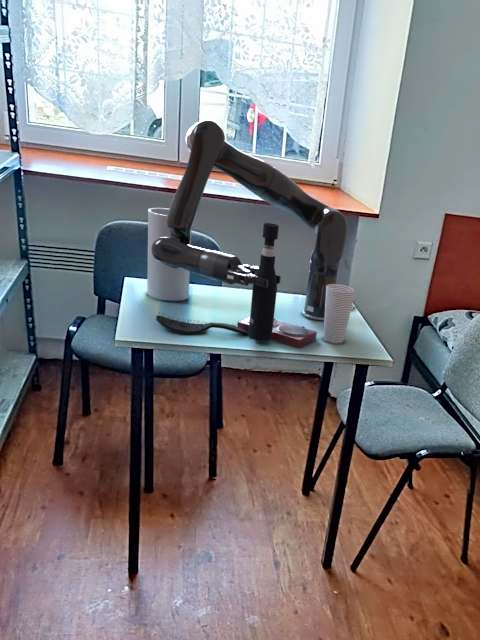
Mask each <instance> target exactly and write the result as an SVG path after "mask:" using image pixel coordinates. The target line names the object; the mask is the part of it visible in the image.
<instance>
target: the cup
mask: <svg viewBox="0 0 480 640" xmlns="http://www.w3.org/2000/svg"><path fill="white" fill-rule="evenodd" d="M355 295H356V289H355V288H354V287H351V286H349V285H345V284H339V283H337V284H328V285H326V301H325V318H324V321H323V337H322V338H323V340H324V341H325V342H327V343H330V344H342V343H343V342H344V340H345V336H346V331H347V327H348V323H349V319H350V315H351V311H352V307H353V303H354V299H355Z"/></svg>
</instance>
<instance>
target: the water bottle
mask: <svg viewBox="0 0 480 640" xmlns="http://www.w3.org/2000/svg"><path fill="white" fill-rule="evenodd" d="M279 228H280V227H279V225H278V224H275V223H270V222H264V223H263V227H262V238H263V239H264V242H263V243H264V244H263V245H264V246H263V247H262V248H261V249H262V251H261V254H260V261H259V265H258V266H259V268H258V270H257V273H256V275H255V276H259V277H262V278H266V279H268V287H266V288H264V287H261V286H257V285H252V293H251V302H250V303H251V304H250V315H249V317H250V324H249V333H248V334H247V336H248V338H249V339H251V340H253V341H256V342H269V341H271V339H272V330H273V321H274V319H275V312H276V301H277V294H278V293H277V292H278V284H277V279H276V275H277V274H276V269H275V264H276V256H275V254H276V253H275V252H276V250H275V248H274V247H275V242H276V240H278V238H279Z"/></svg>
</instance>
